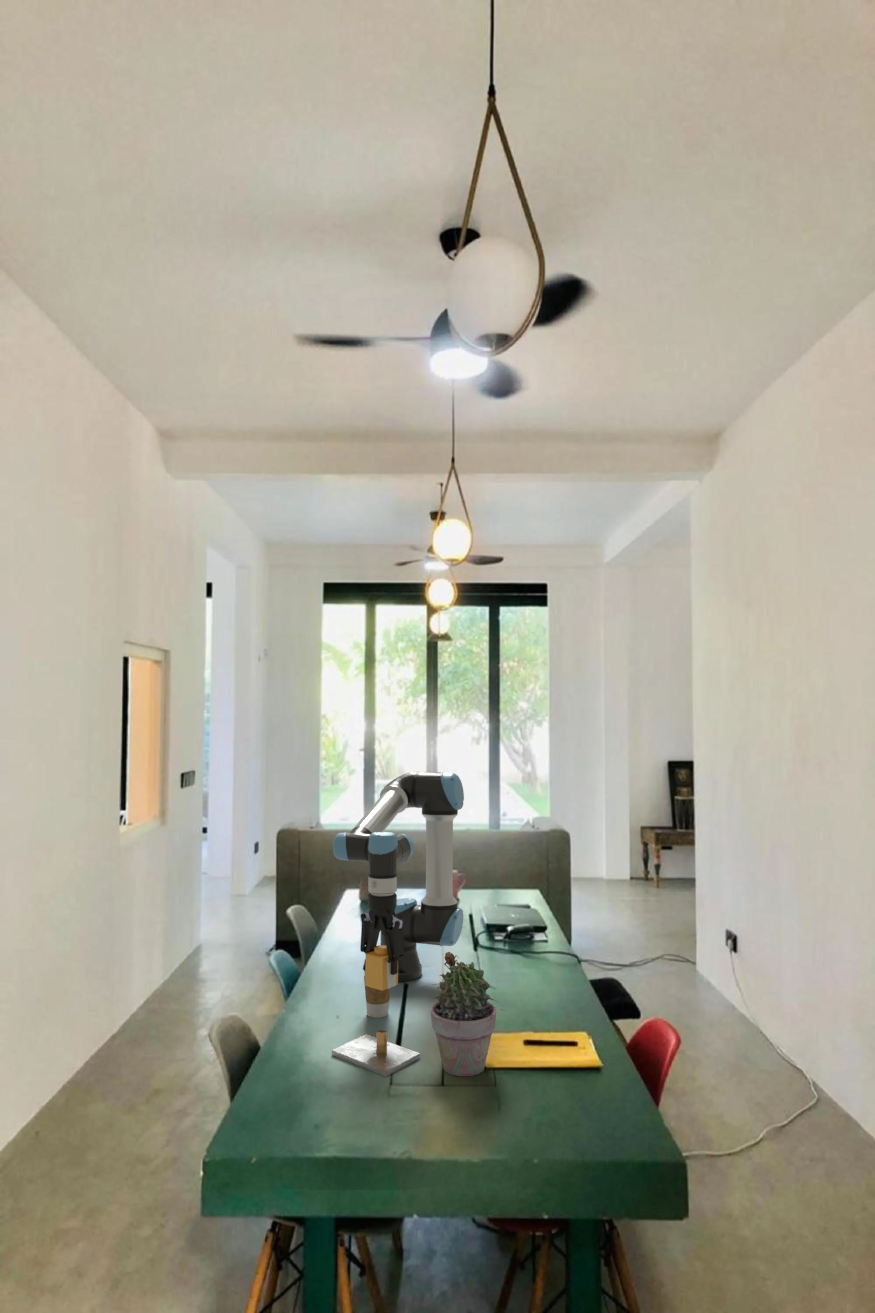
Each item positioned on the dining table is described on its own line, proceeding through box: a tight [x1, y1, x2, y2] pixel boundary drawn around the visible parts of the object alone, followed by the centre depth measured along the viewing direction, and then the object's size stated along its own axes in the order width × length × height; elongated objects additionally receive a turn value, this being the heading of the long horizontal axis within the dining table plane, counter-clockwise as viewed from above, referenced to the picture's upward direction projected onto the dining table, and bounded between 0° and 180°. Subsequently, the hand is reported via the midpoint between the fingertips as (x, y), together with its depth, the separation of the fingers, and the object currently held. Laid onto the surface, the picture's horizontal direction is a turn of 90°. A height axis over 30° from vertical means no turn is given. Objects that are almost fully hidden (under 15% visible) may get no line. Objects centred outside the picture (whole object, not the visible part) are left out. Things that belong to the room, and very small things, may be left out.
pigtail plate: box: [331, 1029, 421, 1078], centre depth 184 cm, size 18×12×6 cm, turn 51°
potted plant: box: [424, 951, 506, 1077], centre depth 179 cm, size 18×20×25 cm
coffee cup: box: [362, 958, 391, 1019], centre depth 211 cm, size 8×8×15 cm
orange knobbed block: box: [364, 944, 399, 991], centre depth 196 cm, size 6×6×10 cm
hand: (381, 984), depth 196 cm, fingers closed on orange knobbed block, 6 cm apart
